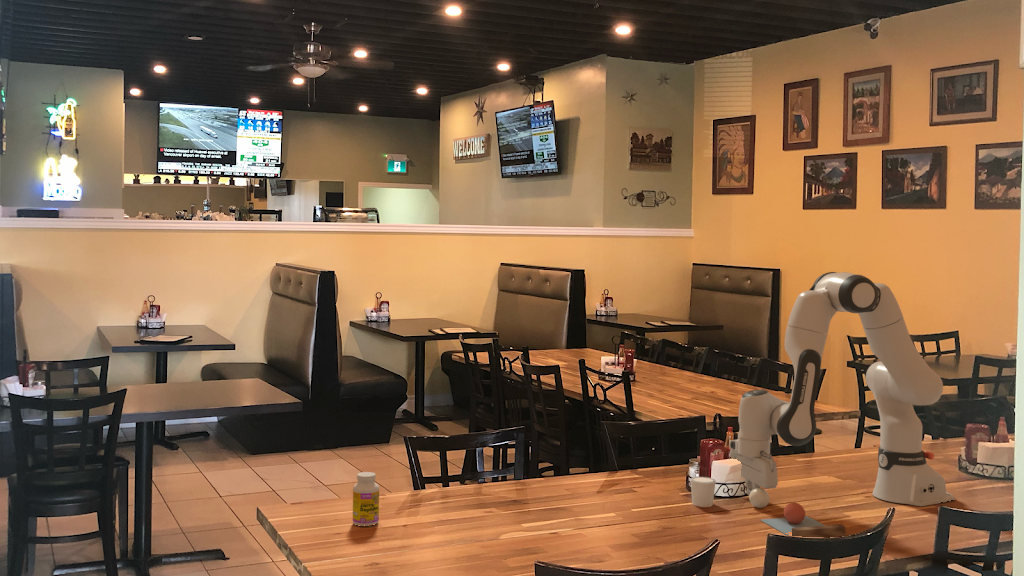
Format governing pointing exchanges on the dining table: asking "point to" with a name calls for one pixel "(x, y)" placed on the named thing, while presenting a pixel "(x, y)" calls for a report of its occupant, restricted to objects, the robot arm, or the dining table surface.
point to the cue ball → (759, 497)
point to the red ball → (794, 513)
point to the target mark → (790, 524)
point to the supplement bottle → (366, 500)
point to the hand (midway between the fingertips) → (752, 496)
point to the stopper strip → (820, 531)
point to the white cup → (702, 491)
